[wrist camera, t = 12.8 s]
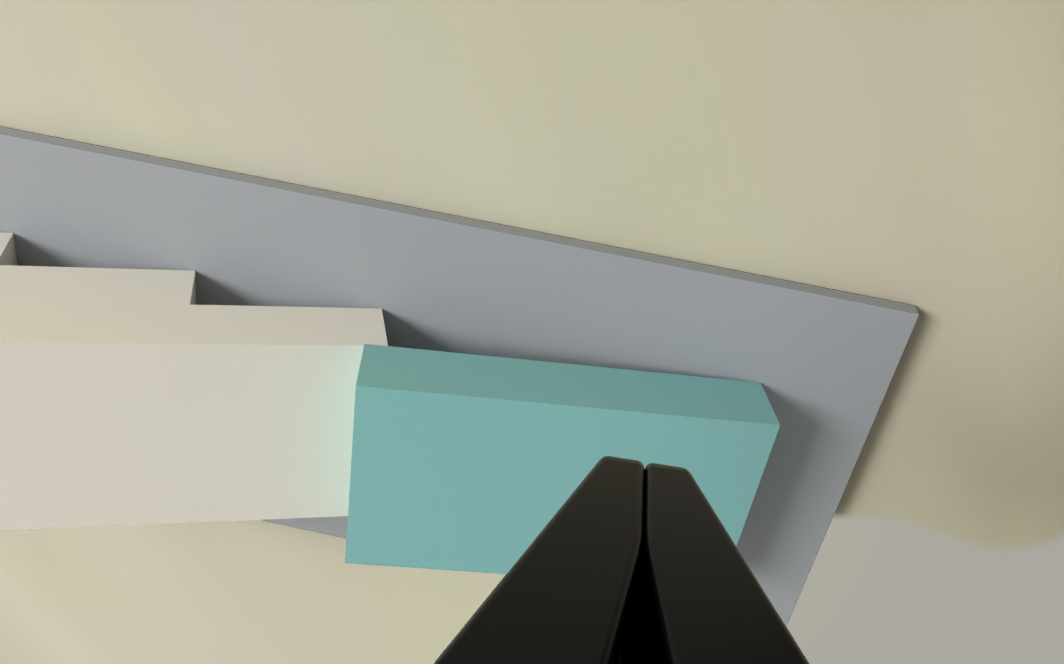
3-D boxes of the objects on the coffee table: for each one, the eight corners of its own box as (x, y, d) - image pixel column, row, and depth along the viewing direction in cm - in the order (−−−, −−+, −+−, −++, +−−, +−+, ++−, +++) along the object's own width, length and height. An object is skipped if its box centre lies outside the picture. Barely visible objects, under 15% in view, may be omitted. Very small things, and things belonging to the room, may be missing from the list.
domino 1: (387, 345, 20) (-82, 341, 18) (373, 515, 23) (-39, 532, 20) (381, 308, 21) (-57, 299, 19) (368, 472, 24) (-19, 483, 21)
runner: (914, 305, 20) (919, 314, 20) (782, 620, 25) (784, 631, 25) (-213, 85, 21) (-228, 89, 21) (-119, 429, 26) (-129, 437, 26)
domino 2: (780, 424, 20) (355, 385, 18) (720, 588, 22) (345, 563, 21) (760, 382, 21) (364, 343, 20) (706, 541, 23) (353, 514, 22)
